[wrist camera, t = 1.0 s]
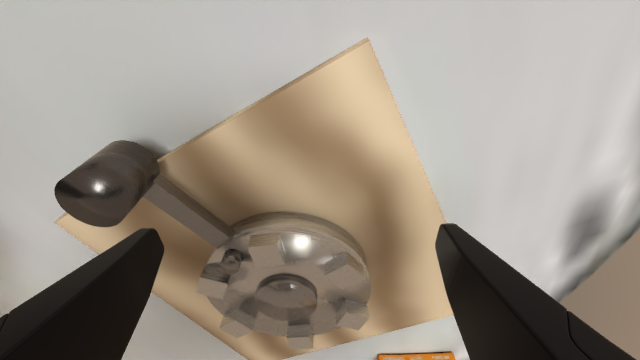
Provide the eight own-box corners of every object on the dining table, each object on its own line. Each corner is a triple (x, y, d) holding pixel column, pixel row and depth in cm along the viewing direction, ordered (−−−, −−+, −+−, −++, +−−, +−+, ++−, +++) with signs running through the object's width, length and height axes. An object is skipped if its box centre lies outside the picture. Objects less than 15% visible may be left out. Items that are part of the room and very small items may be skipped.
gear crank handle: (397, 279, 23) (410, 335, 19) (285, 328, 27) (279, 381, 24) (180, 69, 14) (130, 98, 11) (68, 191, 19) (6, 241, 15)
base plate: (215, 367, 35) (210, 386, 33) (16, 241, 23) (-8, 261, 21) (477, 297, 26) (487, 319, 24) (367, 37, 14) (372, 44, 13)
